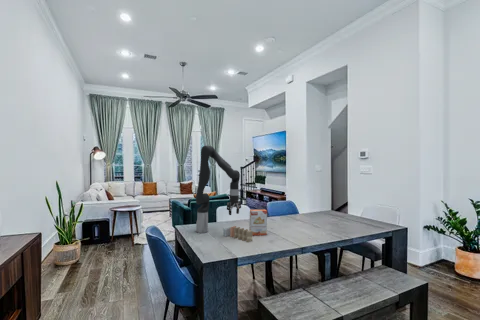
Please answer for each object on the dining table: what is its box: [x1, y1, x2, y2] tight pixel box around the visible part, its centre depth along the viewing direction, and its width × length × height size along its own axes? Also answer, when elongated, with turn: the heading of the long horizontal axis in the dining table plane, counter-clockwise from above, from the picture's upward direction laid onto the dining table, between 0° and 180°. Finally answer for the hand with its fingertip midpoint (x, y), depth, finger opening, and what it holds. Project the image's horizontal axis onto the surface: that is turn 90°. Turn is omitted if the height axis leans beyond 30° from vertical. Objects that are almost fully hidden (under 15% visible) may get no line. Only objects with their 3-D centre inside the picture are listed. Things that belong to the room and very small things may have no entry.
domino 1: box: [229, 225, 237, 238], centre depth 205 cm, size 2×5×8 cm, turn 135°
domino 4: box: [241, 228, 249, 242], centre depth 195 cm, size 2×5×8 cm, turn 135°
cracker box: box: [248, 209, 268, 237], centre depth 211 cm, size 14×6×21 cm, turn 101°
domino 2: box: [233, 226, 241, 239], centre depth 202 cm, size 2×5×8 cm, turn 135°
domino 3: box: [237, 227, 245, 240], centre depth 199 cm, size 2×5×8 cm, turn 135°
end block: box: [222, 226, 231, 238], centre depth 209 cm, size 3×10×6 cm, turn 135°
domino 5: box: [245, 230, 253, 243], centre depth 192 cm, size 2×5×8 cm, turn 135°
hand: (233, 214), depth 205 cm, fingers open, 8 cm apart
